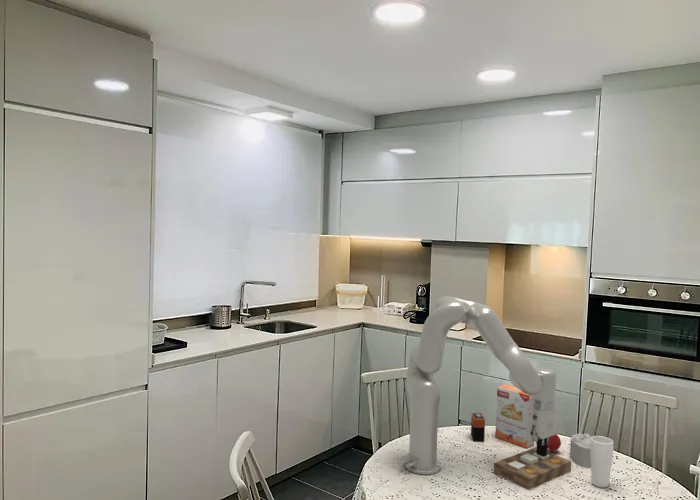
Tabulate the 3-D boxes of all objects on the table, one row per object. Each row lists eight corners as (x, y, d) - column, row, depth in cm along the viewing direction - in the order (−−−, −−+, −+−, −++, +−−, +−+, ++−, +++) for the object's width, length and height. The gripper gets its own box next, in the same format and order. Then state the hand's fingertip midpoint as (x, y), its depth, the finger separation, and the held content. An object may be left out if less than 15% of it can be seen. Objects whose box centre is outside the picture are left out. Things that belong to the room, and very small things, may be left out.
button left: (517, 475, 180) (518, 468, 180) (507, 470, 183) (507, 463, 183) (525, 472, 182) (525, 465, 182) (515, 467, 186) (515, 460, 186)
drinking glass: (592, 477, 183) (594, 434, 182) (613, 484, 178) (615, 439, 178) (586, 484, 177) (588, 439, 177) (608, 491, 173) (610, 445, 172)
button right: (542, 465, 188) (542, 458, 188) (532, 460, 191) (532, 454, 191) (549, 462, 191) (549, 455, 190) (539, 457, 194) (539, 451, 194)
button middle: (530, 467, 184) (530, 460, 184) (520, 463, 187) (520, 456, 187) (537, 464, 186) (538, 457, 186) (527, 460, 190) (527, 453, 190)
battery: (473, 441, 211) (474, 416, 210) (470, 434, 217) (471, 410, 217) (484, 442, 210) (485, 417, 210) (481, 435, 217) (482, 411, 217)
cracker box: (494, 437, 215) (496, 386, 214) (502, 434, 219) (504, 383, 218) (526, 449, 205) (528, 394, 204) (534, 445, 209) (537, 391, 208)
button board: (528, 489, 173) (529, 478, 173) (493, 473, 184) (494, 462, 184) (570, 470, 187) (571, 460, 187) (535, 456, 198) (536, 446, 198)
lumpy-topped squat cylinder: (579, 467, 190) (580, 443, 190) (564, 452, 203) (565, 429, 203) (608, 468, 190) (609, 444, 190) (591, 452, 203) (592, 430, 203)
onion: (561, 455, 200) (562, 434, 199) (545, 454, 201) (546, 432, 200) (558, 449, 205) (559, 428, 205) (543, 447, 206) (543, 427, 206)
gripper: (540, 410, 183) (538, 464, 183) (565, 402, 191) (563, 453, 192) (521, 404, 189) (519, 456, 189) (546, 397, 197) (544, 446, 198)
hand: (541, 454), depth 191 cm, fingers closed
